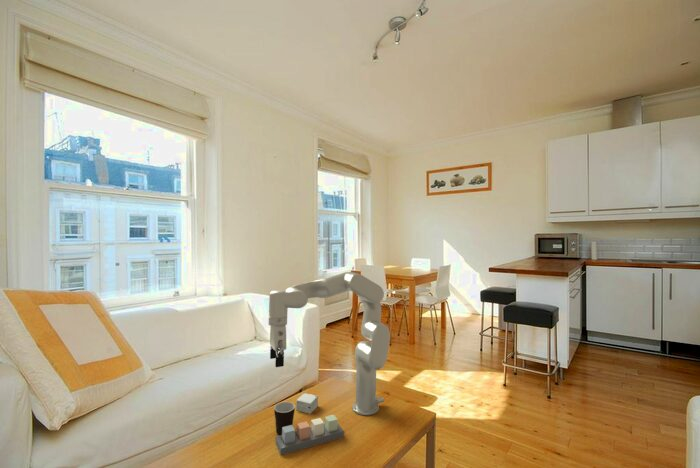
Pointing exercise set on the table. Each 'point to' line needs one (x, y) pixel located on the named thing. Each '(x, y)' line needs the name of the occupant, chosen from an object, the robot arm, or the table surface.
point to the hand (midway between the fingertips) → (276, 362)
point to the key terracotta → (303, 430)
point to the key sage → (331, 423)
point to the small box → (307, 403)
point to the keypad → (308, 440)
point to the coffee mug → (283, 415)
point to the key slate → (288, 434)
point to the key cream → (317, 426)
